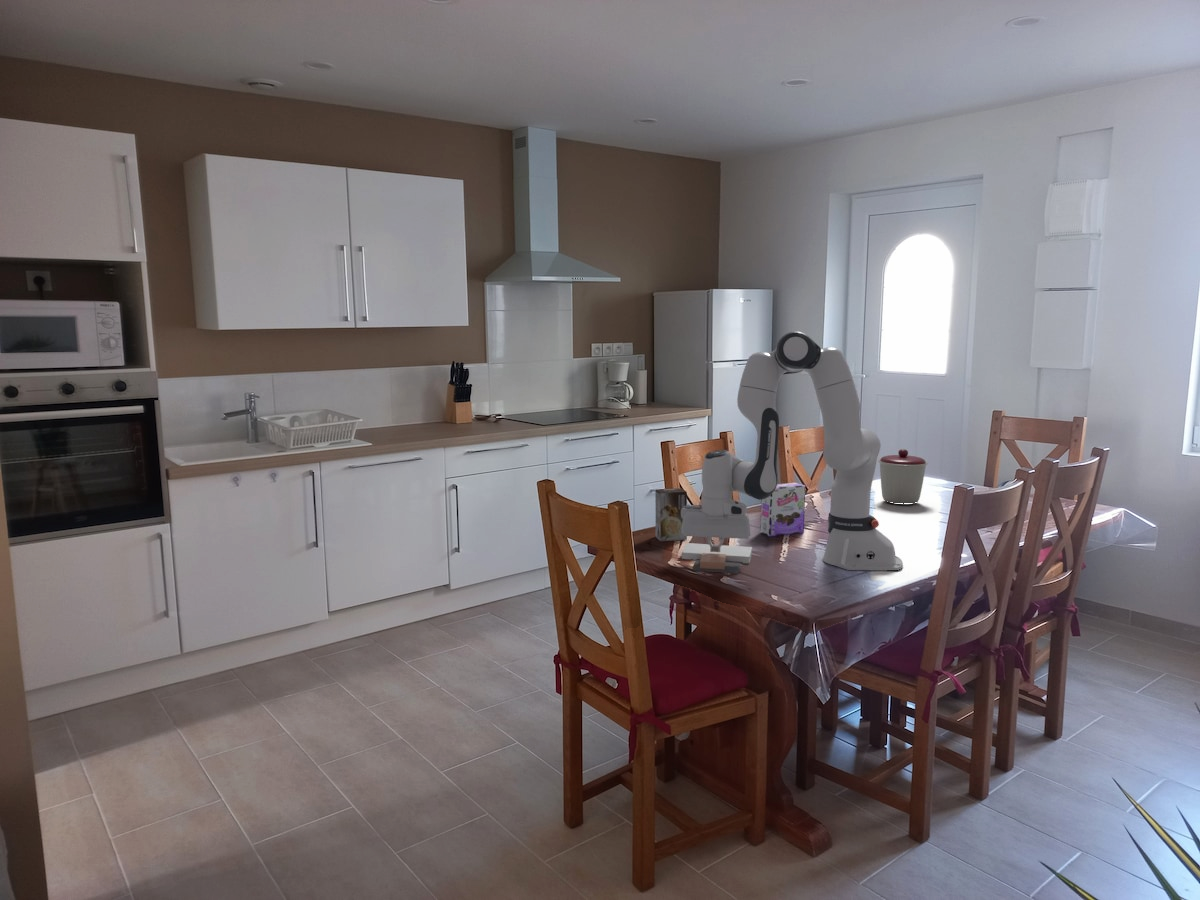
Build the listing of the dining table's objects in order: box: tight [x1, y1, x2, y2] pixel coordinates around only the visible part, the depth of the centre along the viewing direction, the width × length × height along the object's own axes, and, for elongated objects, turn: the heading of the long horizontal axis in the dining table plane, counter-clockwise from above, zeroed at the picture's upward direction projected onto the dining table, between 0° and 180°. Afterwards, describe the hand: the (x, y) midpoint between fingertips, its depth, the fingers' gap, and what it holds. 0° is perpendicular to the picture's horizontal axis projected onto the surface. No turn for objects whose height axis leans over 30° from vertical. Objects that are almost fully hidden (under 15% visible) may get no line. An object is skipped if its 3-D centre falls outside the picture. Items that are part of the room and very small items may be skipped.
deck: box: [681, 542, 753, 564], centre depth 258 cm, size 20×11×2 cm, turn 76°
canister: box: [877, 448, 929, 504], centre depth 331 cm, size 18×18×21 cm
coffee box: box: [654, 487, 688, 542], centre depth 278 cm, size 9×6×16 cm
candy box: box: [759, 482, 806, 537], centre depth 285 cm, size 14×6×16 cm, turn 112°
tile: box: [700, 553, 726, 569], centre depth 248 cm, size 7×9×2 cm
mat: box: [690, 559, 742, 575], centre depth 247 cm, size 13×11×1 cm
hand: (715, 551), depth 253 cm, fingers closed
